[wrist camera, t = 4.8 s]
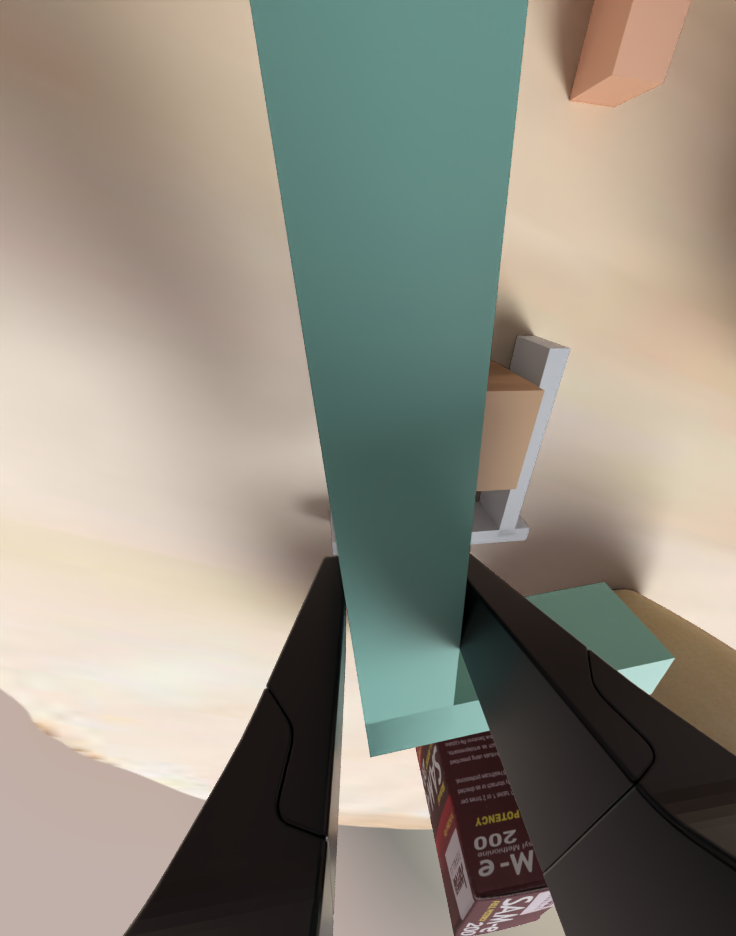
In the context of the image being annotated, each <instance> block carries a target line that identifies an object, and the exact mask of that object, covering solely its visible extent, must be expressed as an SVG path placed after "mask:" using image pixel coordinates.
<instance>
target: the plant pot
mask: <svg viewBox="0 0 736 936" xmlns="http://www.w3.org/2000/svg"><path fill="white" fill-rule="evenodd" d="M613 592H614V593H615V594H616V595H617V596H618V597H619V598H620V599H621V600H622V601H623V602H624V603H625V604H626V605H627V607H628V608H629V609H630V610H631V611H632V612H633V613H634V614H635V615H636V616H637V617H638V618H639V619H640V621H641V622H642V623H643V624H644V625H645V626H646V627H647V628H648V629H649V630H650V631H651V632H652V633H653V635H654V636H655V637H656V638H657V639H658V640H659V641H660V642H661V643H662V644H663V645H664V646H665V647H666V649H667V650H668V651H669V652H670V653H671V654H672V655H673V656H674V657H675V659H674V660H673V662H672V663H671V665H670V667H669V668H668V670H667V671H666V673H665V674H664V676H663V677H662V679H661V680H660V682H659V683H658V685H657V686H656V688H655V689H654V691H653V692H652V694H650V696H652V697H653V698H655V699H656V700H657V701H659V702H660V703H661V704H663V705H664V706H666V707H667V708H668V709H670V710H671V711H673V712H674V713H676V714H677V715H679V716H680V717H681V718H683V719H684V720H686V721H687V722H689V723H690V724H691V725H693V726H694V727H696V728H697V729H699V730H700V731H701V732H703V733H704V734H706V735H707V736H709V737H710V738H711V739H713V740H714V741H716V742H717V743H719V744H720V745H721V746H723V747H724V748H726V749H727V750H729V751H730V752H731V753H733V754H734V755H736V650H734V649H733V648H731V647H730V646H728V645H726V644H725V643H723V642H722V641H720V640H718V639H717V638H715V637H714V636H712V635H710V634H709V633H707V632H706V631H704V630H702V629H701V628H699V627H697V626H696V625H694V624H692V623H691V622H689V621H687V620H685V619H684V618H682V617H680V616H679V615H677V614H675V613H673V612H672V611H670V610H668V609H666V608H665V607H663V606H661V605H659V604H657V603H656V602H654V601H652V600H650V599H648V598H646V597H645V596H643V595H641V594H639V593H637V592H635V591H632V590H626V589H622V590H613Z"/></svg>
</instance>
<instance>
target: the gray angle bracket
mask: <svg viewBox="0 0 736 936" xmlns="http://www.w3.org/2000/svg"><path fill="white" fill-rule="evenodd" d="M570 349H571V348H568V347H565V346H562V345H559V344H557V343H554V342H551V341H548V340H545V339H543V338H540V337H537V336H517V339H516V343H515V348H514V352H513V356H512V361H511V365H510V369H509V370H510V371H512V372H514V373H515V374H517V375H519V376H521V377H522V378H524V379H526V380H528V381H529V382H531V383H533V384H534V385H536V386H538V387H540V388H541V389H543V390H545V391H544V394H543V398H542V401H541V405H540V408H539V412H538V415H537V419H536V422H535V425H534V429H533V432H532V436H531V439H530V443H529V446H528V450H527V453H526V456H525V460H524V463H523V467H522V470H521V474H520V477H519V481H518V484H517V487H516V489H510V490H492V491H481V495H480V499H479V501H475V507H474V516H473V526H472V535H471V544H484V543H497V542H510V541H522V540H526V538H527V535H528V533H529V530H530V527H529V526H528V525H527V523H526V522H525V521H524V520H523V518H522V517H521V516H520V515H519V514H520V510H521V507H522V504H523V501H524V497H525V494H526V491H527V488H528V484H529V481H530V478H531V475H532V472H533V468H534V465H535V462H536V459H537V455H538V452H539V449H540V446H541V442H542V439H543V436H544V433H545V429H546V426H547V423H548V420H549V417H550V413H551V410H552V407H553V404H554V400H555V397H556V394H557V391H558V387H559V384H560V381H561V378H562V375H563V371H564V368H565V365H566V362H567V358H568V355H569V352H570ZM330 521H331V535H332V549H333V555H338V551H337V545H336V538H335V532H334V526H333V520H332V513H331V510H330ZM471 544H470V545H471Z"/></svg>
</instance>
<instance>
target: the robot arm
mask: <svg viewBox="0 0 736 936" xmlns="http://www.w3.org/2000/svg"><path fill="white" fill-rule="evenodd" d="M459 649H460V652H461V654H462V657H463V660H464V662H465V665H466V668H467V671H468V673H469V676H470V679H471V681H472V684H473V687H474V689H475V692H476V695H477V697H478V700H479V703H480V705H481V708H482V711H483V714H484V716H485V719H486V722H487V724H488V727H489V730H490V732H491V735H492V738H493V740H494V743H495V746H496V749H497V751H498V754H499V757H500V759H501V762H502V765H503V767H504V770H505V773H506V775H507V778H508V781H509V783H510V786H511V789H512V792H513V794H514V797H515V800H516V802H517V805H518V808H519V810H520V813H521V816H522V818H523V821H524V824H525V827H526V829H527V832H528V835H529V837H530V840H531V843H532V845H533V848H534V851H535V853H536V856H537V859H538V861H539V864H540V867H541V870H542V871H543V872H544V874H543V875H544V878H545V881H546V884H547V886H548V889H549V892H550V894H551V897H552V900H553V902H554V905H555V908H556V911H557V913H558V916H559V919H560V921H561V924H562V927H563V929H564V932H565V935H566V936H736V755H734V754H733V753H731V752H730V751H729V750H727V749H726V748H724V747H723V746H721V745H720V744H719V743H717V742H716V741H714V740H713V739H711V738H710V737H709V736H707V735H706V734H704V733H703V732H701V731H700V730H699V729H697V728H696V727H694V726H693V725H691V724H690V723H689V722H687V721H686V720H684V719H683V718H681V717H680V716H679V715H677V714H676V713H674V712H673V711H671V710H670V709H668V708H667V707H666V706H664V705H663V704H661V703H660V702H659V701H657V700H656V699H655V698H653V697H652V696H650V695H649V694H648V693H646V692H645V691H643V690H642V689H641V688H639V687H638V686H637V685H635V684H634V683H633V682H631V681H630V680H629V679H627V678H626V677H625V676H623V675H622V674H621V673H620V672H618V671H617V670H616V669H614V668H613V667H612V666H610V665H609V664H608V663H607V662H605V661H604V660H603V659H602V658H600V657H599V656H598V655H597V654H595V653H594V652H593V651H592V650H588V649H587V647H586V646H585V645H584V644H583V643H581V642H580V641H579V640H578V639H576V638H575V637H574V636H573V635H571V634H570V633H569V632H568V631H566V630H565V629H564V628H563V627H561V626H560V625H559V624H558V623H556V622H555V621H554V620H553V619H551V618H550V617H549V616H548V615H546V614H545V613H544V612H543V611H541V610H540V609H539V608H538V607H536V606H535V605H534V604H533V603H531V602H530V601H529V600H528V599H526V598H525V597H524V596H523V595H521V594H520V593H519V592H518V591H516V590H515V589H514V588H513V587H511V586H510V585H509V584H508V583H506V582H505V581H504V580H503V579H501V578H500V577H499V576H498V575H496V574H495V573H494V572H493V571H491V570H490V569H489V568H488V567H486V566H485V565H484V564H483V563H481V562H480V561H479V560H478V559H476V558H475V557H474V556H473V555H471V554H469V563H468V573H467V582H466V592H465V601H464V611H463V620H462V629H461V639H460V646H459ZM345 661H346V601H345V595H344V588H343V582H342V576H341V570H340V563H339V557H338V555H337V556H326V557H324V558H323V560H322V562H321V565H320V567H319V569H318V571H317V574H316V576H315V578H314V580H313V583H312V585H311V587H310V589H309V591H308V594H307V596H306V598H305V600H304V603H303V605H302V607H301V609H300V611H299V614H298V616H297V618H296V620H295V623H294V625H293V627H292V629H291V631H290V634H289V636H288V638H287V640H286V643H285V645H284V647H283V649H282V651H281V654H280V656H279V658H278V660H277V663H276V665H275V667H274V669H273V671H272V674H271V676H270V678H269V680H268V683H267V685H266V687H267V688H266V689H264V691H263V693H262V695H261V698H260V700H259V702H258V704H257V707H256V709H255V711H254V713H253V715H252V717H251V719H250V721H249V723H248V725H247V727H246V729H245V731H244V734H243V736H242V738H241V740H240V741H239V743H238V745H237V747H236V749H235V751H234V752H233V754H232V756H231V758H230V760H229V762H228V763H227V765H226V767H225V769H224V771H223V773H222V774H221V776H220V778H219V780H218V781H217V783H216V785H215V787H214V788H213V790H212V792H211V793H210V795H209V797H208V799H207V800H206V802H205V804H204V806H203V807H202V809H201V811H200V812H199V814H198V816H197V818H196V819H195V821H194V823H193V825H192V826H191V828H190V830H189V832H188V833H187V835H186V837H185V838H184V840H183V842H182V844H181V845H180V847H179V849H178V851H177V852H176V854H175V856H174V857H173V859H172V861H171V863H170V864H169V866H168V868H167V869H166V871H165V873H164V874H163V876H162V878H161V879H160V881H159V883H158V884H157V886H156V888H155V889H154V891H153V892H152V894H151V895H150V897H149V899H148V900H147V902H146V904H145V905H144V906H143V908H142V909H141V911H140V912H139V914H138V915H137V917H136V918H135V919H134V921H133V922H132V924H131V925H130V927H129V928H128V929H127V931H126V932H125V933H124V935H123V936H333V914H334V897H335V875H336V874H335V873H336V854H337V832H338V811H339V790H340V768H341V747H342V725H343V704H344V682H345Z"/></svg>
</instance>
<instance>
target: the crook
mask: <svg viewBox="0 0 736 936" xmlns="http://www.w3.org/2000/svg"><path fill="white" fill-rule="evenodd" d="M250 6H251V12H252V18H253V24H254V31H255V37H256V43H257V50H258V56H259V62H260V68H261V75H262V81H263V87H264V93H265V100H266V106H267V112H268V118H269V125H270V131H271V137H272V144H273V150H274V156H275V162H276V169H277V175H278V181H279V187H280V194H281V200H282V206H283V212H284V219H285V225H286V231H287V238H288V244H289V250H290V256H291V263H292V269H293V275H294V281H295V288H296V294H297V300H298V306H299V313H300V319H301V325H302V332H303V338H304V344H305V350H306V357H307V363H308V369H309V375H310V382H311V388H312V394H313V400H314V407H315V413H316V419H317V426H318V432H319V438H320V444H321V451H322V457H323V463H324V469H325V476H326V482H327V488H328V494H329V501H330V507H331V513H332V520H333V526H334V532H335V538H336V545H337V551H338V557H339V563H340V570H341V576H342V582H343V588H344V595H345V601H346V607H347V614H348V620H349V626H350V632H351V639H352V645H353V651H354V657H355V664H356V670H357V676H358V682H359V689H360V695H361V701H362V708H363V714H364V720H365V726H366V733H367V739H368V745H369V751H370V757H374V756H378V755H383V754H387V753H392V752H396V751H401V750H405V749H409V748H414V747H418V746H423V745H427V744H432V743H436V742H441V741H445V740H450V739H454V738H458V737H463V736H467V735H472V734H476V733H481V732H485V731H490V730H489V727H488V724H487V722H486V719H485V716H484V714H483V711H482V708H481V705H480V703H479V700H478V697H477V695H476V692H475V689H474V687H473V684H472V681H471V679H470V676H469V673H468V671H467V668H466V665H465V662H464V660H463V657H462V654H461V652H460V649H459V646H460V639H461V629H462V620H463V611H464V601H465V592H466V582H467V573H468V563H469V554H470V544H471V535H472V526H473V516H474V507H475V497H476V488H477V478H478V469H479V460H480V450H481V441H482V431H483V422H484V412H485V403H486V394H487V384H488V375H489V365H490V356H491V346H492V337H493V327H494V318H495V309H496V299H497V290H498V280H499V271H500V261H501V252H502V243H503V233H504V224H505V214H506V205H507V195H508V186H509V177H510V167H511V158H512V148H513V139H514V129H515V120H516V111H517V101H518V92H519V82H520V73H521V63H522V54H523V44H524V35H525V26H526V16H527V7H528V0H250ZM525 598H526V599H528V600H529V601H530V602H531V603H533V604H534V605H535V606H536V607H538V608H539V609H540V610H541V611H543V612H544V613H545V614H546V615H548V616H549V617H550V618H551V619H553V620H554V621H555V622H556V623H558V624H559V625H560V626H561V627H563V628H564V629H565V630H566V631H568V632H569V633H570V634H571V635H573V636H574V637H575V638H576V639H578V640H579V641H580V642H581V643H583V644H584V645H585V646H586V647H587V649H588V650H592V651H593V652H594V653H595V654H597V655H598V656H599V657H600V658H602V659H603V660H604V661H605V662H607V663H608V664H609V665H610V666H612V667H613V668H614V669H616V670H617V671H618V672H620V673H621V674H622V675H623V676H625V677H626V678H627V679H629V680H630V681H631V682H633V683H634V684H635V685H637V686H638V687H639V688H641V689H642V690H643V691H645V692H646V693H648V694H649V695H650V694H652V692H653V691H654V689H655V688H656V686H657V685H658V683H659V682H660V680H661V679H662V677H663V676H664V674H665V673H666V671H667V670H668V668H669V667H670V665H671V663H672V662H673V660H674V659H675V657H674V656H673V655H672V654H671V653H670V652H669V651H668V650H667V649H666V647H665V646H664V645H663V644H662V643H661V642H660V641H659V640H658V639H657V638H656V637H655V636H654V635H653V633H652V632H651V631H650V630H649V629H648V628H647V627H646V626H645V625H644V624H643V623H642V622H641V621H640V619H639V618H638V617H637V616H636V615H635V614H634V613H633V612H632V611H631V610H630V609H629V608H628V607H627V605H626V604H625V603H624V602H623V601H622V600H621V599H620V598H619V597H618V596H617V595H616V594H615V593H614V592H613V590H612V589H611V588H610V587H609V586H608V585H607V584H606V583H605V582H601V583H596V584H590V585H585V586H580V587H574V588H569V589H564V590H559V591H553V592H548V593H543V594H537V595H532V596H527V597H525Z"/></svg>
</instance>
